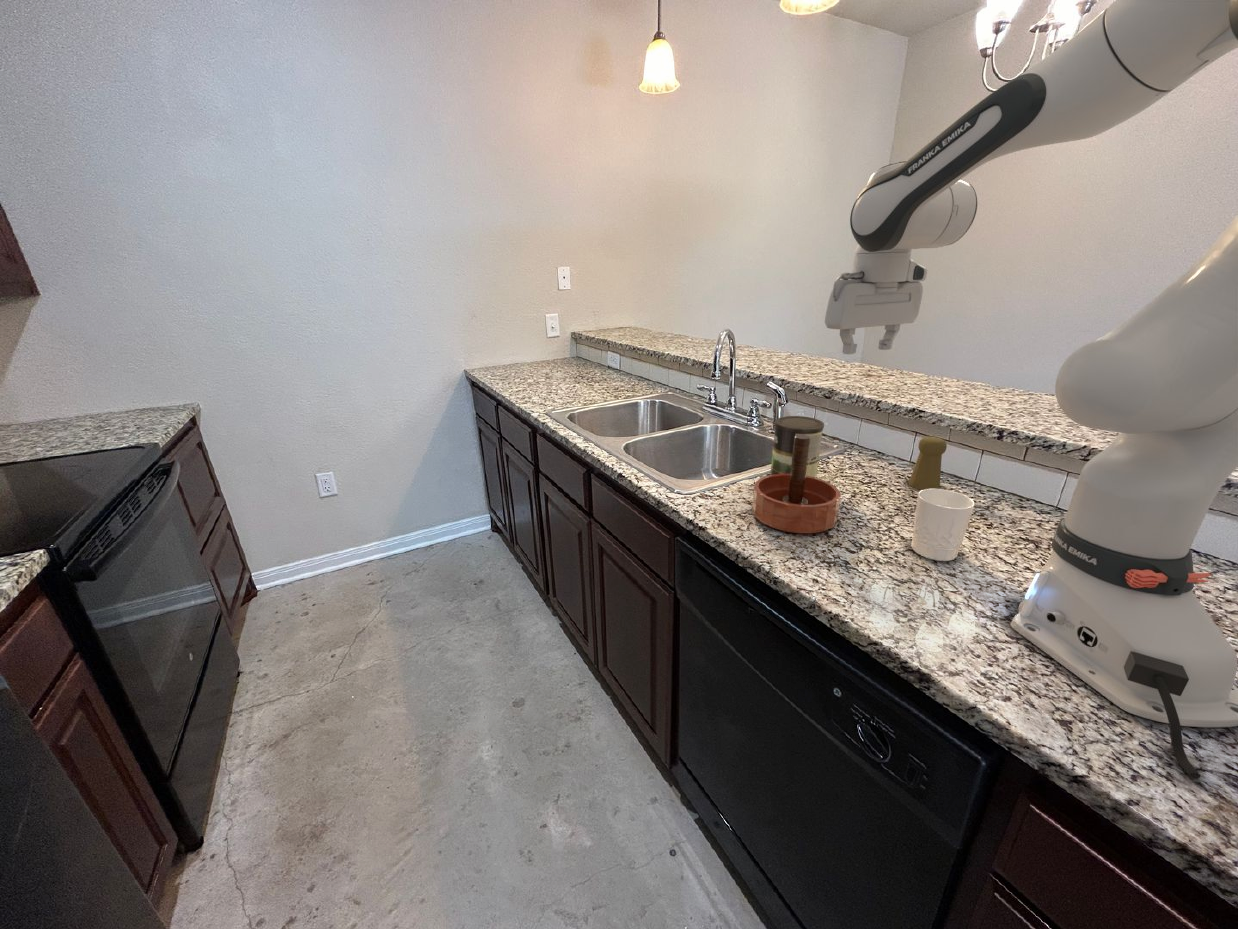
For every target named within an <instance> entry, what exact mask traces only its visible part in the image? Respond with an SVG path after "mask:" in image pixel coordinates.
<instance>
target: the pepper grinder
mask: <svg viewBox="0 0 1238 929" xmlns="http://www.w3.org/2000/svg"><path fill="white" fill-rule="evenodd" d="M947 444H948V443H947V442H946V440H944V439H942V438H941V437H937V436H925V437H922V438H921V439H920V440H919V442H918V446H917V447H918V450H919V454H918V456H917V459H916V462H915V463H914V467H913V469H912V472H911V475H910V478H909V481H908V485H909V486H910V487H912V488H915V489H918V490H920V491H921V490H924V489H941V472H942V457H943V454H945V453H946V451H947V448H948V446H947Z"/></svg>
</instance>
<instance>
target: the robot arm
mask: <svg viewBox="0 0 1238 929" xmlns="http://www.w3.org/2000/svg"><path fill="white" fill-rule="evenodd" d="M1237 48H1238V0H1114V1H1112V3H1110V4H1109V5H1108V6H1107V7H1106V8H1105V9H1104V10H1103V11H1102V12H1100V13H1099V14H1098V15H1097V16H1095V17H1094V18H1093V19H1092V20H1091V21H1090V22H1089V23H1088V24H1086V25H1085V26H1084V27H1083V28H1082V29H1080V31H1078V32H1077V33H1075V34H1074V35H1073V36H1072V37H1071V38H1069V39H1068V40H1067V41H1065V42H1064V43H1063V44H1062V45H1060V46H1059V47H1057V48H1056V49H1055V50H1054V51H1052V52H1051V53H1050V54H1048V55H1046V57H1045V58H1043V59H1042V60H1040V61H1039V62H1037V63H1036V64H1034V65H1033V66H1031V67H1030V68H1028V69H1027V70H1025V71H1024V72H1022V73H1021V74H1019V75H1018V76H1016V77H1014V78H1013V79H1011V80H1010V81H1008V82H1007V83H1005V84H1003V85H1002V86H1000V87H999V88H997V89H996V90H994V91H993V92H991V93H989V94H988V95H987V96H986V97H984V98H983V99H981V100H980V101H979V102H977V103H976V104H975V105H974V106H973V107H971V108H970V109H969V110H968V111H966V112H965V113H964V114H963V115H961V116H960V117H959V118H958V119H957V120H955V121H954V122H953V123H952V124H950V125H949V126H948V127H947V128H945V129H944V130H943V131H942V132H941V133H939V134H938V135H937V136H935V137H934V138H933V139H932V140H931V141H929V142H928V143H927V144H926V145H925V146H923V147H922V148H921V149H919V150H918V151H917V152H915V154H914V155H912V156H911V157H910V158H909V159H907V160H905V161H898V162H895V163H890V164H887V165H883V166H882V167H880V168H878V169H877V170H876V171H874V172H873V173H872V174H871V175H870V177H869V179H868V182H867V184H866V186H865V187H864V188H863V189H862V191H861V192H860V193H859V194H858V196H857V197H856V200H855V201H854V203H853V206H852V207H851V210H850V217H849V224H850V225H849V226H850V229H851V233H852V236H853V238H854V240H855V242H856V243H857V246H856V248H855V249H854V254H853V261H852V270H851V272H842V273H841V274H840V275H839V276H838V277H837V278H836V279H835V280H834V282H833V287H832V289H831V291H830V295H829V298H828V303H827V306H826V310H825V311H826V312H825V316H824V324H825V326H826V328H827V329H831V330H839V337H840V339H841V343H842V353H843V354H844V355H855V354H856V352H857V347H858V343H855V342H854V337H853V336H855V334H856V329H862V328H863V329H864V328H874V327H884V330H885V333H883V334H884V335H883V337H882V338H881V339H879V340H878V348H877V349H878V350H882V351H888V350H891V349H892V347H893V344H894V343H893V342H894V340H895V338H896V337H897V335H898V333H899V332H900V328H901V325H907V324H913V323H914V322H915V321H916V320H917V318H918V315H919V313H920V309H921V304H922V298H923V292H924V286H923V283H922V282H924V281H925V280H926V279H927V275H928V269H927V268H926V267H925V266H923V265H921V264H920V263H917V261H915V260H914V259H911V257H912V250H917V249H938V248H943V247H946V246H947V247H948V246H951V245H953V244H955V243H957V242H958V241H959V240H960V239H962V238H963V237H964V236H965V234H966V233H967V232H968V231H969V229H970V228H971V227H972V225H973V222H974V220H975V219H976V215H977V211H978V195H977V192H976V190H975V188H974V186H973V185H972V184H971V183H969V182H967V181H965V180H964V181H963V180H962V179H964V178H965V177H966V176H968V175H969V174H970V173H972V172H973V171H975V170H977V169H978V168H980V167H981V166H983V165H985V164H986V163H989V162H991V161H993V160H996V159H998V158H1000V157H1003V156H1006V155H1009V154H1013V153H1015V152H1020V151H1024V150H1028V149H1033V148H1038V147H1043V146H1044V147H1045V146H1050V145H1056V144H1061V143H1069V142H1075V141H1082V140H1086V139H1089V138H1090V139H1091V138H1093V137H1097V136H1098V135H1100V134H1103V133H1105V132H1106V131H1109V130H1111V129H1113V128H1115V127H1116V126H1118V125H1121V124H1123V123H1124V122H1126V121H1128V120H1130V119H1132V118H1133V117H1135V116H1137V115H1138V114H1140V113H1142V112H1143V111H1145V110H1146V109H1149V108H1150V107H1151V106H1153V105H1154V104H1155V103H1157V102H1159V100H1161V99H1162V98H1164V97H1165V96H1167V95H1168V94H1170V93H1171V92H1172V91H1174V90H1175V89H1177V88H1179V87H1180V86H1181V85H1183V84H1184V83H1185V82H1187V81H1188V80H1190V79H1191V78H1192V77H1194V76H1196V74H1198V73H1199V72H1200V71H1202V70H1203V69H1205V68H1207V67H1208V66H1209V65H1211V64H1212V63H1214V62H1216V61H1217V60H1219V59H1221V57H1223V56H1226V54H1229V53H1231V52H1233V51H1234V50H1236V49H1237ZM1054 388H1055V389H1054V390H1055V398H1056V401H1057V404H1058V406H1059V408H1060V409H1061V411H1062V412H1063V414H1064V416H1066V417H1067V418H1069V419H1070V420H1071V421H1072V422H1074V423H1075V424H1077V425H1080V426H1082V427H1085V428H1089V429H1095V430H1100V431H1104V432H1105V431H1106V432H1113V433H1120V434H1119V435H1117V437H1116V438H1115V439H1114V440H1113V441H1112V442H1111V443H1110V444H1109V445H1108V446H1107V447H1106V448H1104V449H1103V450H1102V451H1101V452H1099V453H1098V454H1096V455H1094V456H1093V457H1092V458H1090V459H1089V460H1088V461H1087V462H1086V463H1085V464H1084V466H1083V467H1082V469H1081V470H1080V473H1079V476H1078V478H1077V481H1076V485H1075V487H1074V490H1073V492H1072V493H1073V494H1072V496H1071V499H1070V503H1069V505H1068V508H1067V510H1066V511H1067V512H1066V514H1065V517H1063V518H1062V519H1060V520H1059V523H1058V525H1057V527H1056V529H1054V532H1053V538H1052V541H1051V549H1052V551H1051V553H1050V555H1049V558H1048V560H1047V561H1046V563H1045V564H1044V566H1043V567H1042V569H1041V570H1040V573H1039V572H1038V573H1036V574H1035V576H1034V578H1033V580H1032V582H1031V583H1030V586H1028V589H1027V591H1026V593H1025V596H1024V598H1023V599H1022V600H1021V601H1020V603H1019V605H1018V613H1017V614H1016V615H1014V616H1013V618H1012V619H1011V622H1010V627H1011V628H1012V629H1013V630H1014V631H1015V632H1017V633H1018V634H1019V635H1021V636H1022V637H1023V638H1024V639H1026V640H1027V641H1029V642H1030V643H1031V644H1033V645H1034V646H1036V647H1037V648H1039V649H1040V650H1041V651H1042V652H1044V653H1045V654H1047V655H1048V656H1049V657H1051V658H1052V659H1053V660H1055V661H1056V662H1057V663H1059V664H1060V665H1061V666H1063V667H1064V668H1065V669H1067V670H1068V671H1069V672H1070V673H1072V674H1074V675H1075V676H1076V677H1077V678H1079V679H1080V680H1082V682H1084V683H1086V684H1087V685H1088V686H1090V687H1091V688H1092V689H1094V690H1095V691H1096V692H1098V693H1099V694H1100V695H1102V696H1103V697H1105V698H1106V699H1107V700H1108V701H1110V702H1111V703H1113V705H1115V706H1117V707H1118V708H1120V709H1121V710H1123V711H1125V712H1126V713H1128V714H1132V715H1134V716H1137V717H1141V718H1143V719H1147V720H1152V721H1155V722H1160V723H1162V724H1163V723H1164V724H1168V725H1169V735H1170V743H1171V748H1172V751H1173V754H1174V757H1175V759H1176V761H1177V763H1178V764H1179V766H1180V767H1181V769H1183V771H1184V772H1185V773H1186V775H1188V777H1189V778H1191V779H1193V780H1197V779H1200V778H1201V774H1200V772H1199V771H1198V770H1197V769H1196V768H1195V767H1194V766H1193V765H1192V764H1191V762H1190V760H1189V759H1188V757H1187V754H1186V752H1185V748H1184V742H1183V733H1182V727H1191V728H1232V727H1233V728H1234V727H1238V687H1237V686H1236V685H1235V684H1234V683H1235V679H1236V675H1237V671H1238V655H1237V652H1236V650H1235V649H1234V647H1233V646H1232V645H1231V644H1230V642H1229V641H1228V640H1227V638H1226V637H1225V635H1224V631H1223V630H1222V628H1221V627H1220V626H1219V625H1217V624H1216V622H1215V621H1214V620H1213V618H1211V616H1210V614H1209V613H1208V611H1206V609H1205V607H1204V605H1203V604H1202V603H1201V601H1200V599H1199V598H1198V597H1197V596H1196V595H1195V593H1194V591H1193V589H1194V587H1195V583H1208V581H1209V580H1206V579H1205V578H1209V577H1212V574H1211V573H1209V572H1194V561H1193V553H1192V551H1191V547H1192V545H1193V543H1194V540H1195V539H1196V536H1197V535H1198V532H1199V530H1200V529H1201V525H1202V523H1203V522H1204V519H1205V518H1206V516H1207V514H1208V512H1209V509H1210V507H1211V505H1212V503H1213V501H1214V499H1215V498H1216V496H1217V494H1218V493H1219V491H1220V490H1221V488H1222V487H1223V485H1225V483H1226V481H1227V480H1228V479H1229V477H1230V476H1231V475H1232V474H1233V473H1234V471H1235V470H1236V469H1237V468H1238V214H1237V215H1235V217H1234V218H1233V219H1232V220H1231V222H1229V224H1228V225H1227V227H1225V229H1224V230H1223V231H1222V232H1221V234H1220V235H1219V236H1218V237H1217V238H1216V240H1215V241H1214V242H1213V243H1212V244H1211V246H1210V247H1208V249H1207V250H1206V251H1205V252H1204V253H1203V254H1202V255H1201V256H1200V257H1199V258H1198V259H1197V260H1196V261H1195V262H1194V263H1193V264H1192V265H1191V266H1190V267H1189V268H1188V269H1187V270H1186V271H1185V272H1184V273H1182V274H1181V275H1180V276H1179V277H1177V279H1176V280H1174V281H1173V282H1172V283H1171V284H1170V285H1169V286H1167V287H1166V288H1165V289H1164V290H1163V291H1161V292H1160V293H1159V294H1157V296H1156V297H1154V298H1153V299H1151V301H1149V302H1148V303H1147V304H1146V305H1145V306H1143V307H1142V308H1140V310H1138V311H1137V312H1136V313H1135V314H1133V315H1132V316H1131V317H1129V318H1128V319H1127V320H1125V321H1124V322H1123V323H1121V324H1120V325H1119V326H1117V327H1116V328H1114V329H1113V330H1111V331H1109V332H1107V333H1106V334H1104V335H1102V336H1101V337H1099V338H1096V339H1095V340H1093V341H1090V342H1089V343H1086V344H1084V345H1082V346H1081V347H1078V348H1077V349H1076V350H1074V351H1073V352H1072V353H1071V354H1070V355H1069V356H1068V357H1067V358H1066V359H1065V361H1064V362H1063V363H1062V365H1061V367H1060V368H1059V370H1058V372H1057V375H1056V378H1055V386H1054ZM1181 726H1182V727H1181Z"/></svg>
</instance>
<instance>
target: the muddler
mask: <svg viewBox="0 0 1238 929" xmlns="http://www.w3.org/2000/svg"><path fill="white" fill-rule="evenodd" d="M809 446H810V436H808V435H802V434H799V435H795V437H794V446H793V455H792V464H791V473H790V482H789V491H788V495H787V496H784V497H783V498H782V502H786V503H790V504H798V505H808V500H807V499H806V498H804V497H803V495H804V487H805V478H806V470H807V462H808V454H809Z"/></svg>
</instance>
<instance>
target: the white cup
mask: <svg viewBox="0 0 1238 929" xmlns="http://www.w3.org/2000/svg"><path fill="white" fill-rule="evenodd" d="M916 498H917V499H916V504H915V505H916V506H915V510H914V518H913V527H912V528H913V529H912V536H911V537H912V538H911V544H910V545H911V549H912V550H913V551H914V552H915V553H916V554H918V555H919V556H922V557H924V558H926V559H929V560H933V561H939V562H948V561H954V560H955V559H956V558H957V557H958V556H959V552H960V548H961V545H962V543H963V541H964V538H965V536H966V533H967V530H968V526H969V524H970V521H971V518H972V515H973V512H974V508H975V505H976V503H975V501H974V499H972V498H971V497H969V496H967V495H965V494H963V493H961V492H957V491H954V490H950V489H943V488H940V489H924V490H920V491H918V492H917V497H916Z"/></svg>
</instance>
